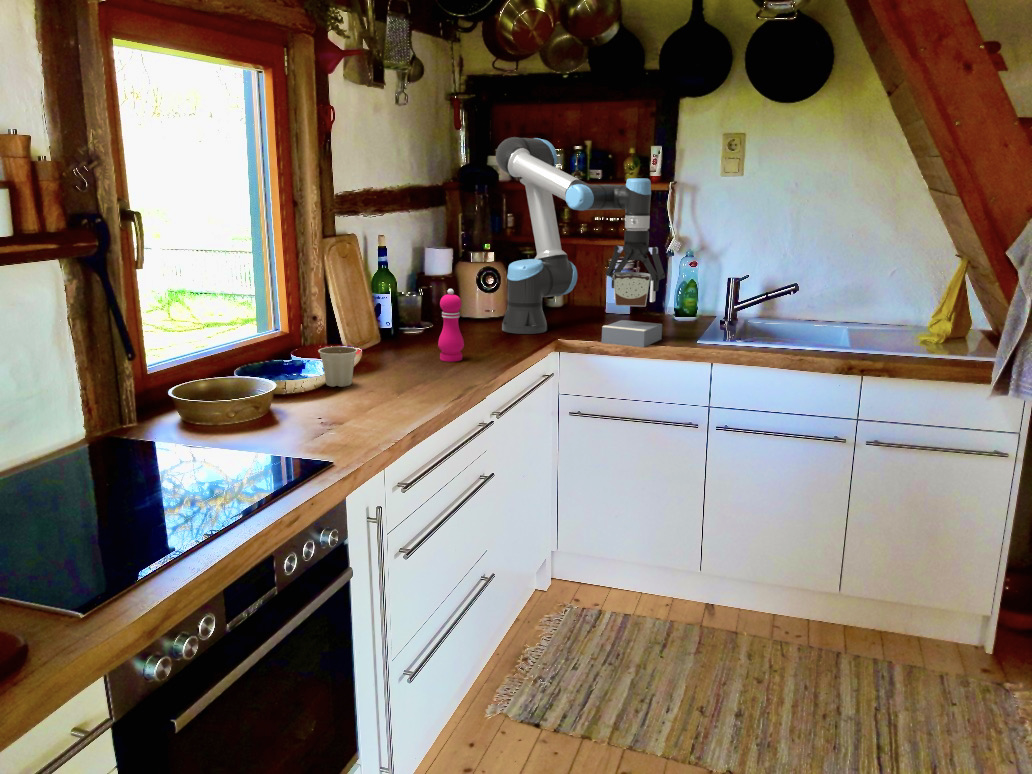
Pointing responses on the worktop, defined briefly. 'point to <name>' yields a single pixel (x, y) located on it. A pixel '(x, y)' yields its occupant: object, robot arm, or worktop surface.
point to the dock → (632, 333)
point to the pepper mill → (450, 328)
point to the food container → (631, 288)
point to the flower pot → (338, 365)
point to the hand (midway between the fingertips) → (634, 300)
